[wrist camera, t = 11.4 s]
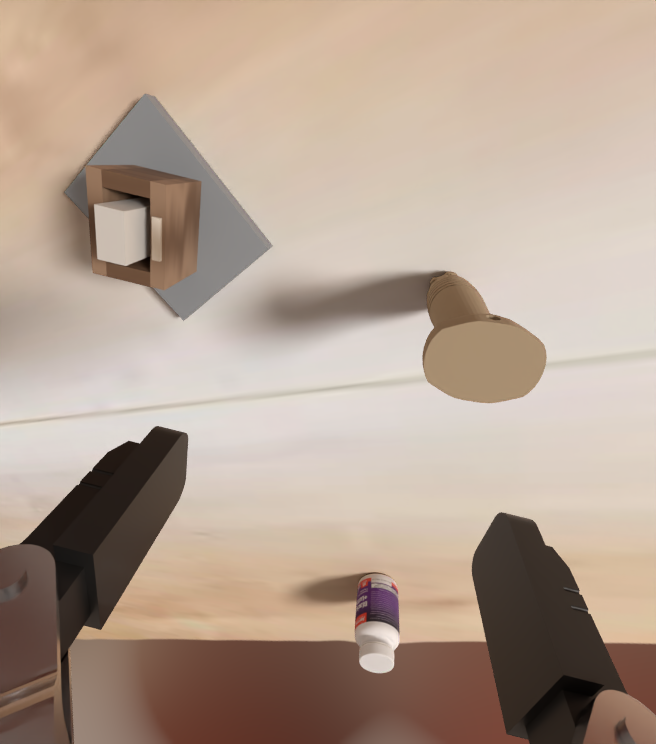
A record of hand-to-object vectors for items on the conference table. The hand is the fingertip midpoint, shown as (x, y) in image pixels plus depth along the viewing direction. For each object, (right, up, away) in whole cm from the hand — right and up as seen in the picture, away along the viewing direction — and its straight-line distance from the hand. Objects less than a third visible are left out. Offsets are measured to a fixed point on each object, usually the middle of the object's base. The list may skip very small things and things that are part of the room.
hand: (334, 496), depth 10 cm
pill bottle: (+7, -26, +45) cm, 52 cm away
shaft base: (-14, +17, +25) cm, 33 cm away
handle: (+10, +11, +25) cm, 29 cm away
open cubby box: (-14, +16, +24) cm, 32 cm away
